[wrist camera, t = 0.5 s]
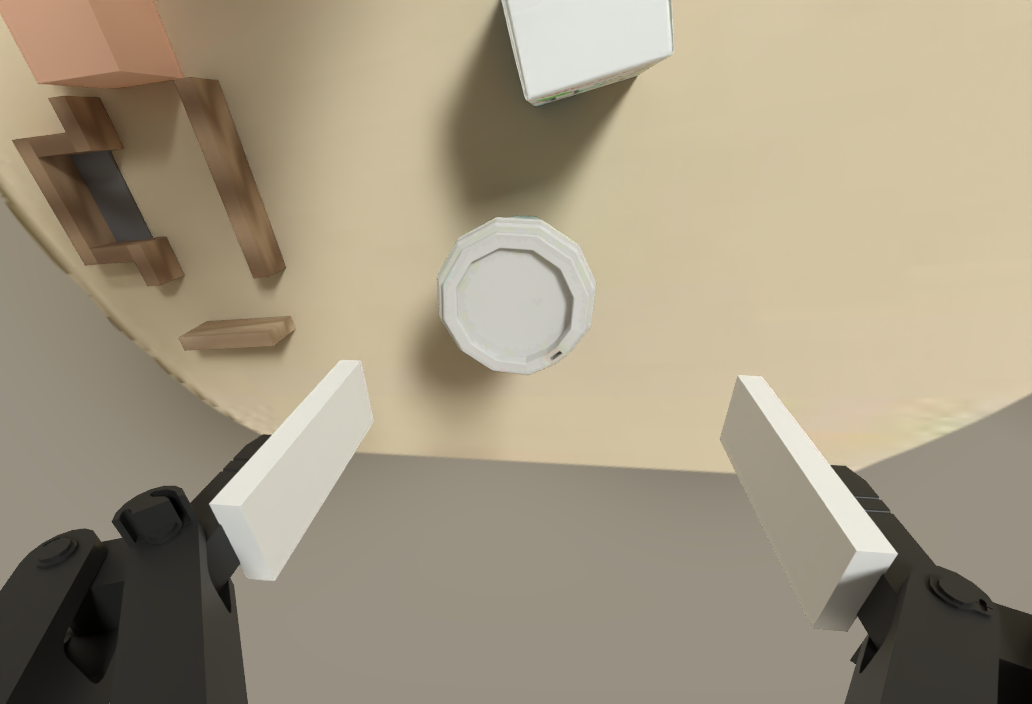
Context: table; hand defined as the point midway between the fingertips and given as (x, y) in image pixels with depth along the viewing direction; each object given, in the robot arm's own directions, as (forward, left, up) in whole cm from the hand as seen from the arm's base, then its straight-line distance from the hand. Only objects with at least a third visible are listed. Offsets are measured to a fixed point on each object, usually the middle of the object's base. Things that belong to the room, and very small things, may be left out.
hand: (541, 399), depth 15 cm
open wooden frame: (-3, -36, -27) cm, 45 cm away
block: (-19, -34, -27) cm, 47 cm away
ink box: (-15, +2, -27) cm, 31 cm away
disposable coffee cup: (+1, -3, -27) cm, 27 cm away
